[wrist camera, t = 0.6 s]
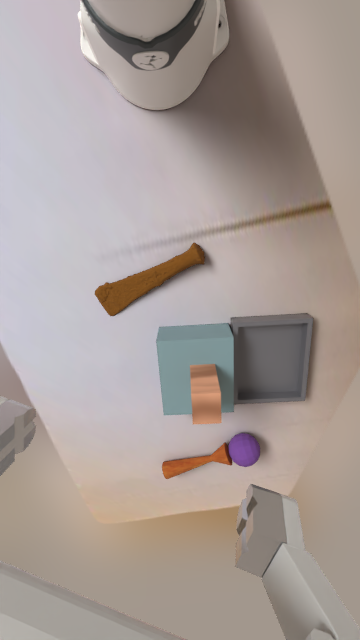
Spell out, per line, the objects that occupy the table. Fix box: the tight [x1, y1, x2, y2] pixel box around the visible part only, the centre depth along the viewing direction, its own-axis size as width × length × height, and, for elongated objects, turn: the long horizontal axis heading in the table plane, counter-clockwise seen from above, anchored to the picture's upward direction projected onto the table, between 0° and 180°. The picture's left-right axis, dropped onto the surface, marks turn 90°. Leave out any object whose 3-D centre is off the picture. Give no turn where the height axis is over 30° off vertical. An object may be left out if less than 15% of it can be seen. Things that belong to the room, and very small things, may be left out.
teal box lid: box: [156, 323, 234, 415], centre depth 51 cm, size 14×12×6 cm
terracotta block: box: [190, 364, 221, 424], centre depth 44 cm, size 5×4×8 cm
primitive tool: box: [95, 243, 205, 316], centre depth 47 cm, size 19×6×4 cm, turn 121°
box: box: [231, 313, 313, 404], centre depth 52 cm, size 16×13×2 cm
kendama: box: [162, 433, 260, 479], centre depth 59 cm, size 6×6×20 cm
